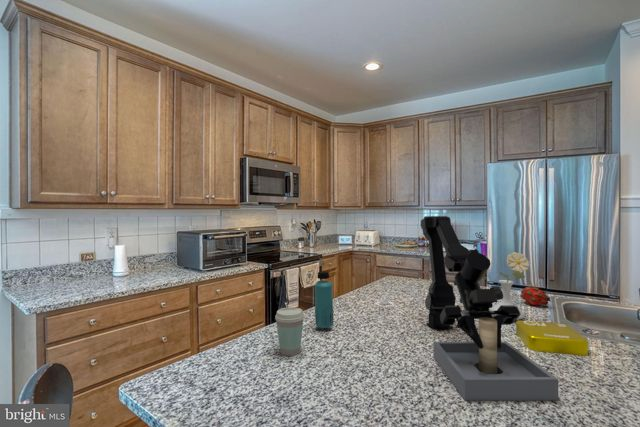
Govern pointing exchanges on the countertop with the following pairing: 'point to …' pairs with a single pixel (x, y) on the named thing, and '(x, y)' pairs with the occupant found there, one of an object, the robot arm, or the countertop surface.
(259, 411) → the countertop surface
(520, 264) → the flower in vase
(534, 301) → the dragon fruit
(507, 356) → the charcoal box
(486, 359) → the birch peg
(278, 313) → the coffee cup
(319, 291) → the beverage bottle
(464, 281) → the robot arm
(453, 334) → the countertop surface
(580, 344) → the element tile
